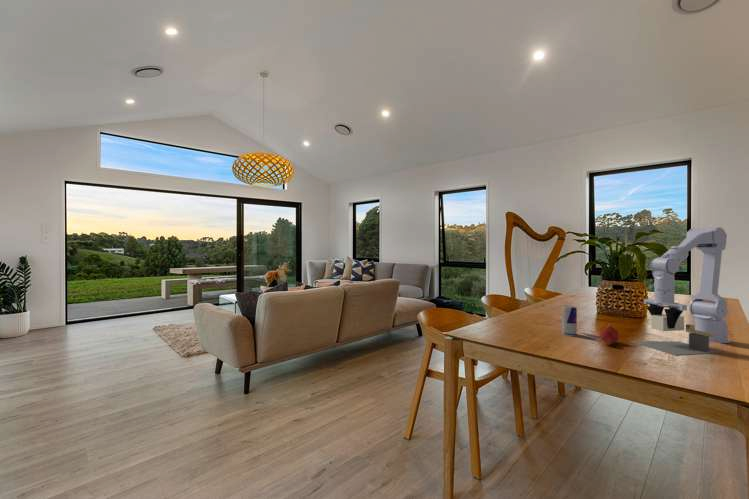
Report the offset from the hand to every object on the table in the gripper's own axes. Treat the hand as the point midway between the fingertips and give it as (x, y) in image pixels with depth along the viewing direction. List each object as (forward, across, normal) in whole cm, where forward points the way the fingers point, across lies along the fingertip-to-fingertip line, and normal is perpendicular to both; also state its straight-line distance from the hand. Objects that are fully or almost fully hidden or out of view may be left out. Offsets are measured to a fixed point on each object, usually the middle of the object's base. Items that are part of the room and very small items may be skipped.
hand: (664, 326), depth 129 cm
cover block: (+1, 0, +1) cm, 2 cm away
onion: (+8, -5, -19) cm, 21 cm away
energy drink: (+7, -21, -23) cm, 32 cm away
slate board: (+7, +3, -1) cm, 8 cm away
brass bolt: (+1, +8, +5) cm, 10 cm away
